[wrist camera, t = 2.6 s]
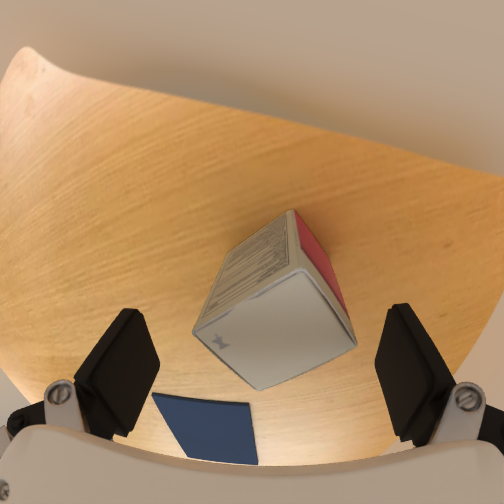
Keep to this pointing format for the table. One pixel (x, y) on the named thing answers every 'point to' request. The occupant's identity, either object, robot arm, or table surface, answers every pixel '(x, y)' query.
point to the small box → (275, 307)
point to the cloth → (210, 428)
